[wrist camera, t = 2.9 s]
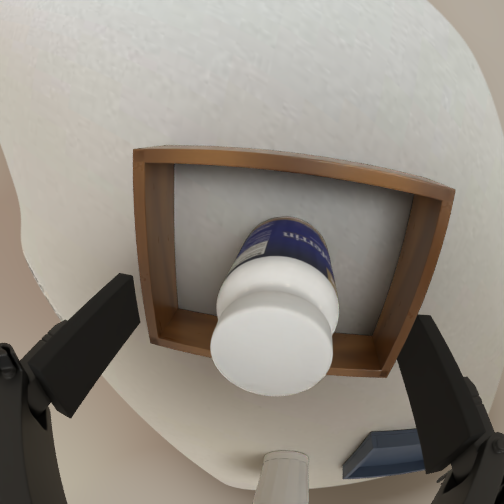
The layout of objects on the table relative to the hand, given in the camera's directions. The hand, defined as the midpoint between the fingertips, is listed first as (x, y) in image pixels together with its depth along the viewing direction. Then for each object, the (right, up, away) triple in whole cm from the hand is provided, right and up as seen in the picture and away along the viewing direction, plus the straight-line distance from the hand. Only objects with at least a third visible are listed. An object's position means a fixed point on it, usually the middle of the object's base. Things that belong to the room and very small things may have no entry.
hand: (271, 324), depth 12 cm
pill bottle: (+1, +3, +7) cm, 8 cm away
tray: (+21, -25, +15) cm, 36 cm away
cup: (+4, -26, +19) cm, 32 cm away
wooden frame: (+1, +3, +7) cm, 8 cm away
